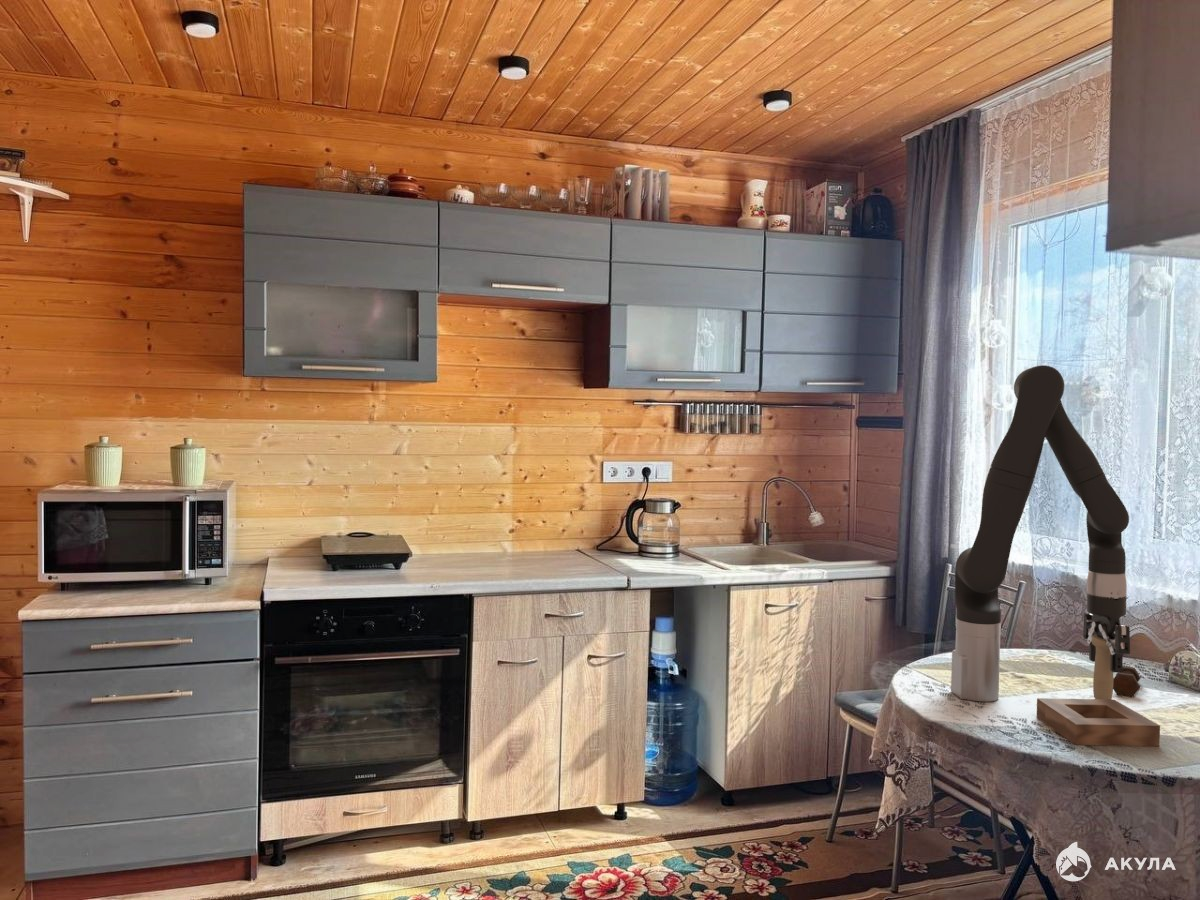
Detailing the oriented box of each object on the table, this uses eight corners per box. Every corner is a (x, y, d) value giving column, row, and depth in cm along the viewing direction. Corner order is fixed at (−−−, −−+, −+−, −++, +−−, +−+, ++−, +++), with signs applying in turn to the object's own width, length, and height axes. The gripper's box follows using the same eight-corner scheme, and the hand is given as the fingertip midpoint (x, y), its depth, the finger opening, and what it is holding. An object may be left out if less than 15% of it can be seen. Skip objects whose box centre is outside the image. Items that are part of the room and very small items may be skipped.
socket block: (1075, 744, 175) (1076, 724, 175) (1036, 717, 191) (1037, 698, 191) (1159, 746, 175) (1160, 725, 175) (1113, 718, 191) (1114, 699, 191)
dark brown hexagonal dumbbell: (1132, 689, 218) (1128, 703, 206) (1111, 675, 221) (1106, 688, 208) (1147, 670, 217) (1144, 683, 204) (1126, 656, 219) (1121, 668, 206)
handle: (1090, 708, 197) (1093, 640, 196) (1089, 700, 203) (1091, 633, 202) (1116, 712, 195) (1118, 642, 194) (1113, 703, 201) (1116, 636, 200)
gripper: (1072, 586, 205) (1071, 657, 205) (1107, 599, 191) (1105, 675, 191) (1105, 586, 205) (1104, 657, 205) (1143, 598, 191) (1141, 675, 191)
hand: (1105, 666), depth 198 cm, fingers open, 8 cm apart
